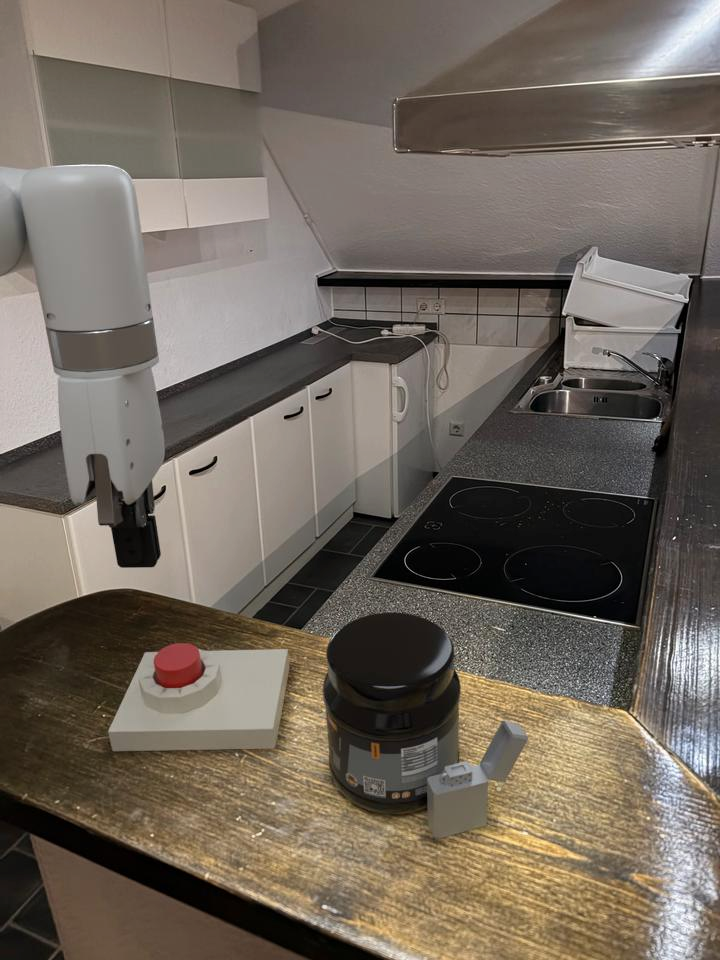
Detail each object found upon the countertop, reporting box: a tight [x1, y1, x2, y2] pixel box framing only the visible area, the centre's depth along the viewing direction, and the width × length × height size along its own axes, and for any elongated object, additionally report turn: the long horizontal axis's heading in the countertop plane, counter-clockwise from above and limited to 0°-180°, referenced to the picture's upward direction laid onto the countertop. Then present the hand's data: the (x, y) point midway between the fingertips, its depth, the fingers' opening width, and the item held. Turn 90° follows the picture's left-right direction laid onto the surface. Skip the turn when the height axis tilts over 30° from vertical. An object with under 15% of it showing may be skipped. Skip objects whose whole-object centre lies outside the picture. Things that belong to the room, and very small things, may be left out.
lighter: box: [426, 720, 529, 840], centre depth 55 cm, size 7×2×8 cm, turn 105°
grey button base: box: [107, 648, 291, 752], centre depth 69 cm, size 14×11×4 cm
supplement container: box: [322, 612, 462, 815], centre depth 59 cm, size 10×10×12 cm
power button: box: [154, 642, 202, 688], centre depth 68 cm, size 4×4×2 cm
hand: (139, 562), depth 64 cm, fingers closed
